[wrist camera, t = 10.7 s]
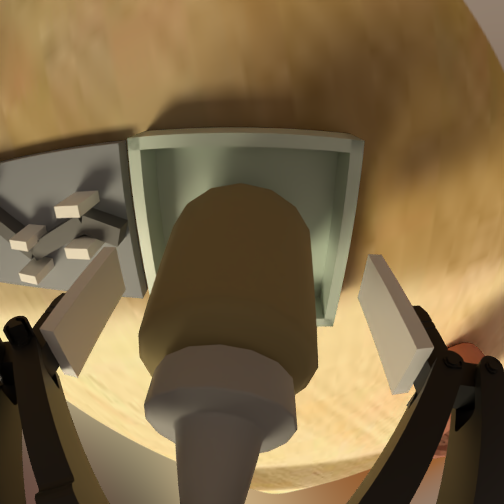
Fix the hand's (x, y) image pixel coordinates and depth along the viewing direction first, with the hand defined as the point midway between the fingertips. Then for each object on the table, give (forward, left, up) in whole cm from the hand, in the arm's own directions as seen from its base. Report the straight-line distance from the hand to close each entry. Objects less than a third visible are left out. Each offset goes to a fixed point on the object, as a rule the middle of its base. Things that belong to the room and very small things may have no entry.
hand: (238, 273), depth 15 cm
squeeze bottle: (0, 0, -6) cm, 6 cm away
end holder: (0, 0, -6) cm, 6 cm away
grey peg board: (0, -17, -6) cm, 18 cm away
